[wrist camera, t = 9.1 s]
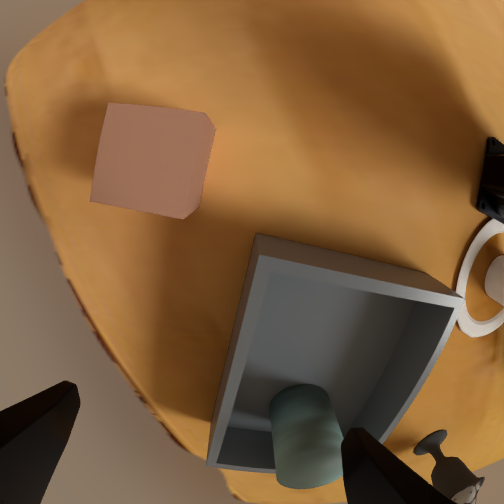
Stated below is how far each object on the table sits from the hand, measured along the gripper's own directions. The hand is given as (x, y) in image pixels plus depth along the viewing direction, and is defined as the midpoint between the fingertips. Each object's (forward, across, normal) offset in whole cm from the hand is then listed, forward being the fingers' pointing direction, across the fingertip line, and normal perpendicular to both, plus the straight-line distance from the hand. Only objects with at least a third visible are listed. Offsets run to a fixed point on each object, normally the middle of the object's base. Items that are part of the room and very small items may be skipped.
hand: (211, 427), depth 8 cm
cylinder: (+11, -7, +9) cm, 16 cm away
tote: (+12, -7, +5) cm, 15 cm away
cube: (+12, +5, -7) cm, 15 cm away
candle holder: (+13, -24, -4) cm, 27 cm away
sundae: (+12, -28, +18) cm, 35 cm away
